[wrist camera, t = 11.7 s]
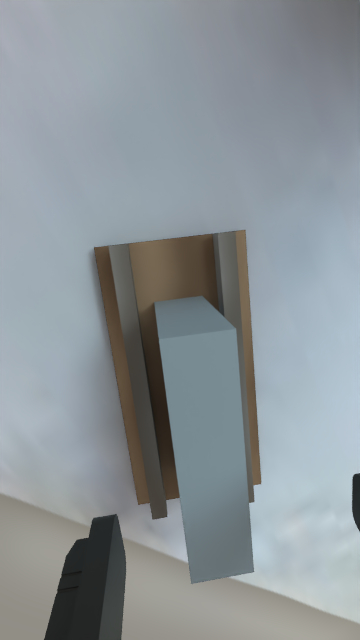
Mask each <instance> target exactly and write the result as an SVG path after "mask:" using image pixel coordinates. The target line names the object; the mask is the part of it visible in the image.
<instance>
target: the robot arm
mask: <svg viewBox="0 0 360 640" xmlns="http://www.w3.org/2000/svg"><path fill="white" fill-rule="evenodd" d="M352 512H353V517H354V520H355V523H356V525H357V527H358V529H359V531H360V473H358V474H354V476H353V489H352ZM125 579H126V558H125V550H124V545H123V540H122V535H121V530H120V525H119V520H118V516H117V515H116V514H114V515H108V516H103V517H97V518H93V520H92V524H91V529H90V534H89V538H84V539H79V540H77V541H76V542H75V544H74V545H73V547H72V548H71V550H70V551H69V553H68V554H67V556H66V559H65V563H64V567H63V571H62V577H61V578H60V582H59V585H58V589H57V591H58V592H57V594H56V597H55V601H54V604H53V608H52V612H51V616H50V620H49V623H48V628H47V631H46V635H45V639H44V640H121V634H122V620H123V606H124V593H125Z"/></svg>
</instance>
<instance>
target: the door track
mask: <svg viewBox="0 0 360 640" xmlns="http://www.w3.org/2000/svg"><path fill="white" fill-rule="evenodd" d="M94 250H95V256H96V262H97V267H98V273H99V279H100V285H101V291H102V297H103V302H104V308H105V314H106V320H107V326H108V331H109V337H110V343H111V349H112V355H113V361H114V366H115V372H116V378H117V384H118V390H119V396H120V401H121V407H122V413H123V419H124V425H125V430H126V436H127V442H128V448H129V454H130V460H131V465H132V471H133V477H134V483H135V489H136V495H137V500H138V505H140V504H146V503H150V507H151V513H152V519H159V518H164V517H167V505H166V500H169V499H175V498H180V495H179V487H178V480H177V472H176V465H175V457H174V450H173V442H172V435H171V427H170V420H169V412H168V404H167V397H166V389H165V382H164V374H163V367H162V359H161V352H160V344H159V337H158V328H157V320H156V312H155V304H154V302H158V301H166V300H174V299H181V298H189V297H197V296H203V297H204V298H205V299H206V300H207V301H208V302H209V303H210V304H211V305H212V306H213V307H214V308H215V309H216V310H217V311H218V312H219V313H220V314H221V315H222V316H223V317H225V318H226V319H227V320H228V321H229V322H230V323H231V324H232V325H233V326H234V327H235V328H236V334H237V347H238V361H239V375H240V388H241V402H242V416H243V429H244V443H245V457H246V470H247V484H248V497H249V503H251V502H254V489H253V485H258V484H261V472H260V456H259V440H258V424H257V408H256V392H255V377H254V361H253V345H252V329H251V313H250V297H249V281H248V265H247V250H246V234H245V230H241V231H232V232H224V233H215V234H206V235H198V236H189V237H181V238H172V239H163V240H155V241H146V242H138V243H129V244H120V245H112V246H103V247H95V248H94Z"/></svg>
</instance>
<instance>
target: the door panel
mask: <svg viewBox="0 0 360 640" xmlns="http://www.w3.org/2000/svg"><path fill="white" fill-rule="evenodd" d="M154 304H155V312H156V320H157V328H158V337H159V344H160V352H161V359H162V367H163V374H164V382H165V389H166V397H167V404H168V412H169V420H170V427H171V435H172V442H173V450H174V457H175V465H176V472H177V480H178V487H179V495H180V502H181V510H182V517H183V525H184V532H185V540H186V547H187V555H188V562H189V569H190V577H191V583H192V584H193V583H198V582H204V581H208V580H214V579H220V578H225V577H230V576H236V575H241V574H246V573H252V572H254V566H253V552H252V538H251V525H250V511H249V497H248V484H247V470H246V457H245V443H244V429H243V416H242V402H241V388H240V375H239V361H238V347H237V334H236V328H235V327H234V326H233V325H232V324H231V323H230V322H229V321H228V320H227V319H226V318H225V317H223V316H222V315H221V314H220V313H219V312H218V311H217V310H216V309H215V308H214V307H213V306H212V305H211V304H210V303H209V302H208V301H207V300H206V299H205V298H204V297H203V296H197V297H189V298H181V299H174V300H166V301H158V302H154Z"/></svg>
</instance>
